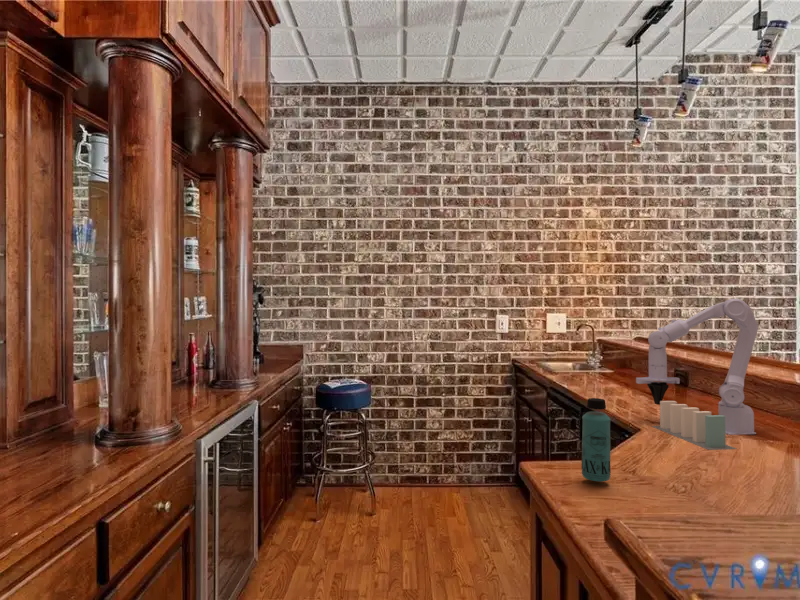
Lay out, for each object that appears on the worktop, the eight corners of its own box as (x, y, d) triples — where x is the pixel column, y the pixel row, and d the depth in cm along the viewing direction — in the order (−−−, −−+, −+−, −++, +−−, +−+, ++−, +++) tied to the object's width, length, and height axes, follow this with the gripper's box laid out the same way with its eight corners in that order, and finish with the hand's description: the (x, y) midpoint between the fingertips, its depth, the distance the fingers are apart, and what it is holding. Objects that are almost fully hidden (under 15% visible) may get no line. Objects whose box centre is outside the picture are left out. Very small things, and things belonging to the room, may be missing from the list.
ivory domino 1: (674, 427, 169) (673, 400, 169) (677, 428, 167) (676, 401, 167) (660, 427, 168) (659, 401, 168) (663, 428, 167) (662, 401, 167)
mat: (675, 426, 171) (675, 425, 171) (737, 449, 143) (737, 448, 143) (650, 426, 170) (650, 426, 170) (708, 450, 142) (708, 449, 142)
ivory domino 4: (708, 440, 152) (707, 411, 152) (711, 441, 151) (711, 412, 151) (692, 440, 152) (692, 411, 152) (696, 442, 150) (696, 412, 150)
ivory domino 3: (696, 435, 158) (695, 407, 158) (699, 436, 156) (699, 408, 156) (681, 436, 157) (680, 407, 157) (684, 437, 156) (684, 408, 156)
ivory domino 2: (684, 431, 163) (684, 403, 163) (687, 432, 162) (687, 404, 162) (670, 431, 163) (670, 404, 163) (673, 432, 161) (673, 405, 161)
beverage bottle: (576, 478, 120) (576, 396, 120) (603, 478, 120) (602, 395, 120) (589, 488, 113) (588, 401, 113) (617, 487, 114) (616, 401, 114)
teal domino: (721, 445, 147) (721, 415, 147) (725, 446, 145) (725, 416, 145) (705, 445, 146) (705, 415, 146) (709, 447, 145) (709, 416, 145)
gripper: (643, 366, 170) (643, 406, 169) (684, 366, 170) (685, 406, 170) (633, 364, 177) (633, 402, 177) (672, 364, 177) (673, 402, 177)
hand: (657, 404), depth 174 cm, fingers closed
